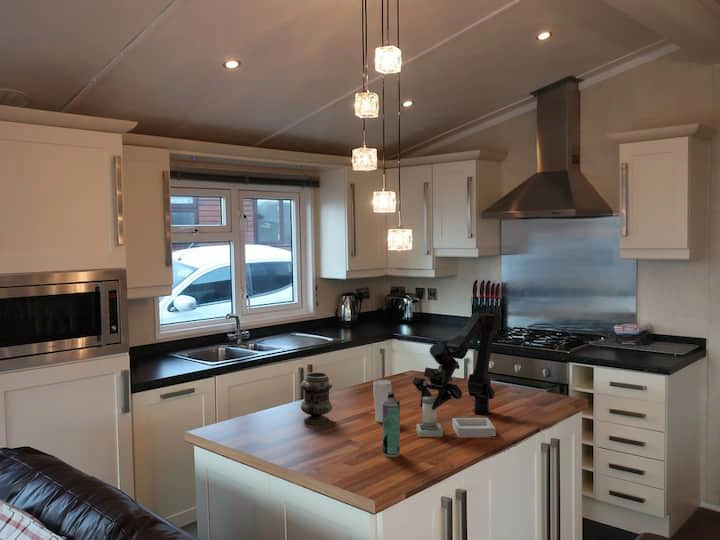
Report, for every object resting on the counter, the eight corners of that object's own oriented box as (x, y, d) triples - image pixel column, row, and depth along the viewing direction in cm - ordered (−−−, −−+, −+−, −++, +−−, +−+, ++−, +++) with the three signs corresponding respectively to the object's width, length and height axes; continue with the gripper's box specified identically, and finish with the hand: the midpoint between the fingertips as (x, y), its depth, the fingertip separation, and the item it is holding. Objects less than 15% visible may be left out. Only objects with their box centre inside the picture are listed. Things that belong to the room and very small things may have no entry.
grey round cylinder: (421, 423, 225) (421, 395, 224) (435, 423, 225) (435, 395, 224) (423, 427, 220) (423, 399, 219) (437, 427, 220) (437, 399, 219)
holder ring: (416, 429, 227) (416, 423, 227) (439, 429, 227) (439, 423, 227) (418, 436, 218) (418, 431, 218) (443, 436, 218) (443, 431, 218)
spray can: (398, 451, 204) (398, 390, 203) (400, 457, 199) (400, 395, 198) (382, 451, 204) (382, 391, 203) (383, 457, 199) (383, 395, 197)
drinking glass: (370, 419, 239) (370, 380, 238) (387, 417, 242) (386, 379, 241) (377, 424, 233) (377, 384, 232) (394, 422, 235) (394, 383, 235)
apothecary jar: (328, 426, 231) (327, 378, 230) (296, 424, 233) (296, 377, 232) (335, 417, 243) (335, 371, 242) (306, 415, 245) (305, 370, 244)
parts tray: (452, 426, 230) (452, 418, 230) (487, 425, 231) (487, 417, 230) (458, 437, 217) (458, 429, 217) (495, 437, 218) (495, 428, 217)
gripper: (415, 355, 230) (396, 390, 223) (457, 362, 218) (438, 399, 210) (428, 372, 237) (410, 407, 229) (470, 380, 224) (452, 417, 216)
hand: (426, 407), depth 221 cm, fingers closed on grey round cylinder, 5 cm apart
